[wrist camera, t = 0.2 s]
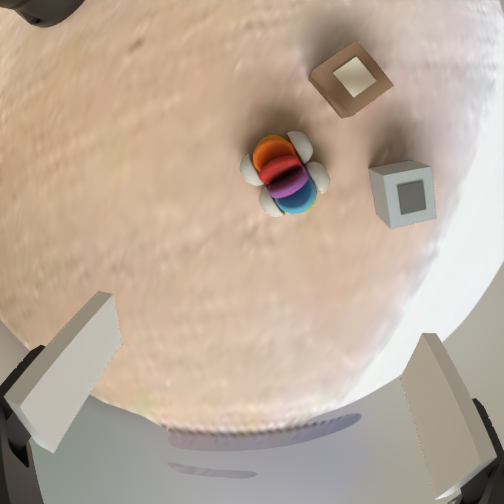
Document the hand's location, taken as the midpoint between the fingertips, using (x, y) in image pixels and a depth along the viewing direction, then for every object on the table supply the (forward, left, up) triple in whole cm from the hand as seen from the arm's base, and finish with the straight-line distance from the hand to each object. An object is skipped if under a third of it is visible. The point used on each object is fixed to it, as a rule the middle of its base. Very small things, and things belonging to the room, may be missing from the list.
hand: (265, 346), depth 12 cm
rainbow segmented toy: (-3, +2, -27) cm, 28 cm away
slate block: (+4, +14, -27) cm, 31 cm away
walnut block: (-10, +13, -27) cm, 31 cm away
